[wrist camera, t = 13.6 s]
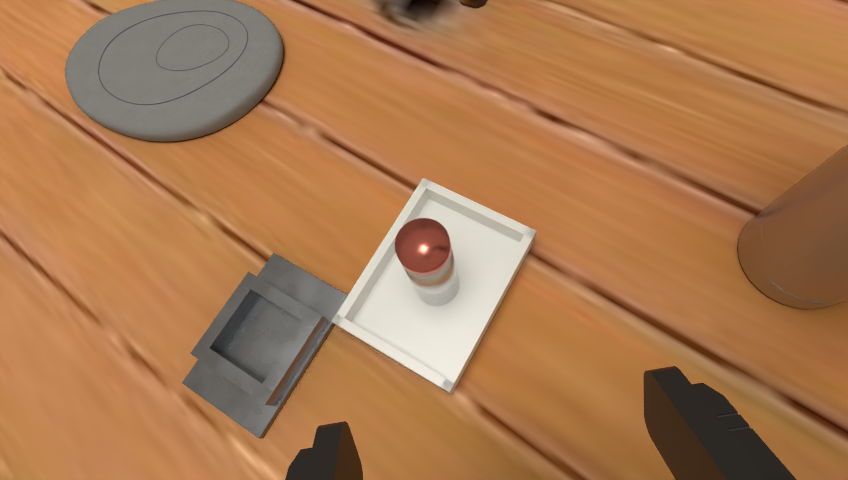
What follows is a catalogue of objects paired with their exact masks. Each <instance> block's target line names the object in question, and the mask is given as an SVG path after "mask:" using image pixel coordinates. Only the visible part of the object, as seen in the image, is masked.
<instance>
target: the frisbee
mask: <svg viewBox="0 0 848 480" xmlns="http://www.w3.org/2000/svg"><path fill="white" fill-rule="evenodd" d="M282 60H283V43H282V39H281V36H280V34H279V32H278V30H277V28H276V27H275V25H274V24H273V23H272V21H271V20H270V19H269V18H268V17H267V16H266V15H264V14H263V13H261V12H260V11H259V10H257V9H255V8H253V7H251V6H248V5H246V4H243V3H241V2H237V1H234V0H159V1H154V2H149V3H145V4H141V5H138V6H134V7H131V8H128V9H124V10H122V11H119V12H117V13H114V14H112V15H110V16H108V17H106V18H104V19H102V20H100V21H99V22H97V23H96V24H95V25H93V26H92V27H91V28H90V29H89V30H88V31H87V32H86V33H85V34H84V35H83V36H82V37H81V38H80V39H79V40H78V41H77V43H76V44H75V45H74V47H73V48H72V50H71V52H70V54H69V56H68V59H67V61H66V67H65V77H66V82H67V86H68V88H69V91H70V94H71V96H72V98H73V100H74V101H75V103H76V104H77V106H78V107H79V108H80V109H81V110H82V111H83V112H84V113H85V114H86V115H88V116H89V117H90V118H91V119H93V120H94V121H96V122H97V123H99V124H100V125H102V126H104V127H106V128H108V129H110V130H112V131H115V132H117V133H120V134H123V135H126V136H129V137H133V138H137V139H142V140H148V141H159V142H170V141H182V140H188V139H193V138H197V137H201V136H204V135H208V134H211V133H213V132H216V131H218V130H220V129H222V128H224V127H226V126H228V125H230V124H232V123H233V122H235V121H237V120H239V119H240V118H241V117H243V116H244V115H245V114H247V113H248V112H249V111H250V110H251V109H252V108H253V107H255V106H256V105H257V104H258V103H259V102H260V101H261V99H262V98H263V97H264V96H265V95H266V94H267V92H268V91H269V89H270V88H271V86H272V85H273V83H274V81H275V80H276V77H277V75H278V73H279V70H280V68H281V64H282Z"/></svg>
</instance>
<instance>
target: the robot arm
mask: <svg viewBox="0 0 848 480" xmlns="http://www.w3.org/2000/svg"><path fill="white" fill-rule="evenodd" d="M738 255H739V260H740V263H741V266H742V268H743V270H744V272H745V273H746V275H747V277H748V278H749V280H750V281H751V282H752V283H753V284H754V285H755V286H756V287H757V288H758V289H759V290H760V291H761V292H763V293H764V294H765V295H766V296H768V297H770V298H772V299H773V300H775V301H777V302H779V303H782V304H785V305H787V306H790V307H795V308H801V309H819V308H823V307H827V306H831V305H834V304H836V303H839V302H842V301H845V300H848V145H847V146H845V147H843V148H842V149H840V150H839V151H838V152H837V153H835V154H834V155H833V156H831V157H830V158H829V159H828V160H826V161H825V162H824V163H822V164H821V165H820V166H819V167H817V168H816V169H815V170H813V171H812V172H811V173H810V174H808V175H807V176H806V177H804V178H803V179H802V180H801V181H799V182H798V183H797V184H795V185H794V186H793V187H792V188H790V189H789V190H788V191H786V192H785V193H784V194H783V195H781V196H780V197H779V198H777V199H776V200H775V201H774V202H773V203H771V204H770V205H769V206H768V207H766V208H765V209H764V210H763V211H761V212H760V213H759V214H758V215H756V216H755V217H754V218H752V219H751V220H750V221H749V222H748V223H747V224H746V225H745V227H744V228H743V229H742V232H741V234H740V237H739V241H738ZM644 417H645V423H646V426H647V429H648V432H649V435H650V437H651V439H652V441H653V442H654V444H655V446H656V447H657V449H658V451H659V452H660V454H661V456H662V457H663V459H664V461H665V462H666V464H667V466H668V467H669V469H670V471H671V472H672V474H673V476H674V477H675V479H676V480H796V479H795V477H794V476H793V475H792V474H791V473H790V472H789V471H788V469H787V468H786V467H785V466H784V465H783V464H782V463H781V461H780V460H779V459H778V458H777V457H776V456H775V454H774V453H773V452H772V451H771V450H770V449H769V448H768V446H767V445H766V444H765V443H764V442H763V441H762V439H761V438H760V437H759V436H758V435H757V434H756V433H755V431H754V430H753V429H750V427H749V425H748V423H747V422H746V421H745V420H744V419H743V418H742V416H741V415H738V413H737V411H736V410H735V408H734V407H733V406H732V405H731V404H730V403H729V402H728V400H727V399H726V398H725V397H724V396H723V395H722V394H720V393H719V392H717V391H715V390H714V389H712V388H710V387H709V386H707V385H706V384H704V383H698V384H691V383H690V382H689V381H688V379H687V378H686V377H685V376H684V374H683V373H682V372H681V371H680V370H679V369H678V368H677V367H675V366H672V367H666V368H660V369H654V370H649V371H645V373H644ZM285 480H363V472H362V465H361V461H360V458H359V455H358V452H357V449H356V446H355V443H354V440H353V437H352V434H351V431H350V428H349V425H348V423H347V422H339V423H333V424H327V425H321V426H319V427H318V428H317V431H316V435H315V439H314V443H313V448H307V449H301V450H300V452H299V453H298V454H297V456H296V457H295V459H294V460H293V462H292V463H291V465H290V466H289V468H288V472H287V476H286V479H285Z"/></svg>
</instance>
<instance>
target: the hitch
mask: <svg viewBox="0 0 848 480" xmlns="http://www.w3.org/2000/svg"><path fill="white" fill-rule="evenodd" d="M347 296H348V295H346V294H344V293H342V292H341V291H339V290H337V289H336V288H334V287H332V286H330V285H329V284H327V283H325V282H323V281H322V280H320V279H318V278H316V277H315V276H313V275H311V274H309V273H308V272H306V271H304V270H303V269H301V268H299V267H297V266H296V265H294V264H292V263H290V262H289V261H287V260H285V259H283V258H282V257H280V256H278V255H276V254H275V253H273V254H272V256H271V257H270V259H269V260H268V262H267V263H266V264H265V266H264V267H263V269H262V270H261V272H260V273H259V274H258V276H257V277H256V276H255V275H253V274H251V273H250V272H248V273H247V275H246V276H245V277H244V279H243V280H242V282H241V283H240V284H239V286H238V287H237V289H236V290H235V291H234V293H233V294H232V296H231V297H230V298H229V300H228V301H227V303H226V304H225V305H224V307H223V308H222V310H221V311H220V312H219V314H218V315H217V317H216V318H215V319H214V321H213V322H212V324H211V325H210V327H209V328H208V329H207V331H206V332H205V334H204V335H203V336H202V338H201V339H200V341H199V342H198V343H197V345H196V346H195V348H194V349H193V350H192V352H191V354H192V355H193V356H195V357H196V358H198V359H199V360H198V361H197V362H196V364H195V365H194V367H193V368H192V370H191V371H190V372H189V374H188V375H187V377H186V378H185V379H184V381H183V382H182V383H183V384H184V385H186V386H187V387H188V388H190V389H191V390H193V391H194V392H195V393H197V394H198V395H199V396H201V397H202V398H204V399H205V400H206V401H208V402H209V403H211V404H212V405H213V406H215V407H216V408H217V409H219V410H220V411H222V412H223V413H224V414H226V415H227V416H229V417H230V418H231V419H233V420H234V421H236V422H237V423H238V424H240V425H241V426H242V427H244V428H245V429H247V430H248V431H249V432H251V433H252V434H254V435H255V436H256V437H258V438H263V437H264V435H265V434H266V432H267V431H268V429H269V428H270V426H271V424H272V423H273V421H274V420H275V418H276V417H277V415H278V413H279V412H280V410H281V409H282V407H283V406H284V404H285V402H286V401H287V399H288V398H289V396H290V394H291V393H292V391H293V390H294V388H295V387H296V385H297V383H298V382H299V380H300V379H301V377H302V376H303V374H304V372H305V371H306V369H307V368H308V366H309V365H310V363H311V361H312V360H313V358H314V357H315V355H316V353H317V352H318V350H319V349H320V347H321V346H322V344H323V342H324V341H325V339H326V338H327V336H328V335H329V333H330V331H331V330H332V328H333V327H334V325H335V324H334V323H333V322H332V320H333V318H334V317H335V315H336V314H337V312H338V311H339V309H340V307H341V306H342V304H343V303H344V301H345V300H346V298H347Z"/></svg>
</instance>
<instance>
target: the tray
mask: <svg viewBox="0 0 848 480" xmlns="http://www.w3.org/2000/svg"><path fill="white" fill-rule="evenodd" d="M418 218H429V219H433V220H436V221H437V222H439V223H440V224H442V225H443V226H444V227H445V229H446V230H447V232H448V235H449V238H450V242H451V247H452V251H453V255H454V260H455V264H456V268H457V273H458V277H459V282H460V285H459V290H458V293H457V295H456V296H455V298H454V299H453V300H451V301H450V302H449V303H447V304H444V305H440V306H434V305H430V304H427V303H425V302H424V301H423V300H422V299H421V298H420V297H419V295H418V294H417V292H416V290H415V288H414V286H413V284H412V283H411V281H410V279H409V277H408V275H407V273H406V272H405V270H404V268H403V266H402V264H401V262H400V261H399V259H398V257H397V255H396V252H395V239H396V236H397V234H398V232H399V230H400V229H401V228H402V227H403V226H404V225H405V224H406V223H408V222H410V221H412V220H414V219H418ZM535 235H536V230H533V229H531V228H529V227H527V226H525V225H523V224H521V223H519V222H516V221H514V220H512V219H510V218H508V217H506V216H504V215H501V214H499V213H497V212H495V211H493V210H491V209H489V208H487V207H484V206H482V205H480V204H478V203H476V202H474V201H472V200H469V199H467V198H465V197H463V196H461V195H459V194H457V193H455V192H452V191H450V190H448V189H446V188H444V187H442V186H440V185H437V184H435V183H433V182H431V181H429V180H427V179H425V178H423V179H422V180H421V182H420V184H419V185H418V187H417V188H416V190H415V191H414V193H413V195H412V196H411V198H410V199H409V201H408V202H407V204H406V206H405V207H404V209H403V210H402V212H401V213H400V215H399V216H398V218H397V220H396V221H395V223H394V224H393V226H392V227H391V229H390V231H389V232H388V234H387V235H386V237H385V238H384V240H383V242H382V243H381V245H380V246H379V248H378V249H377V251H376V253H375V254H374V256H373V257H372V259H371V260H370V262H369V264H368V265H367V267H366V268H365V270H364V271H363V273H362V275H361V276H360V278H359V279H358V281H357V282H356V284H355V285H354V287H353V289H352V290H351V292H350V293H349V295H348V296H347V298H346V300H345V301H344V303H343V304H342V306H341V307H340V309H339V311H338V312H337V314H336V315H335V317H334V318H333V320H332V322H333V323H334V324H336V325H337V326H338V327H340V328H341V329H343V330H345V331H346V332H348V333H350V334H351V335H353V336H355V337H356V338H358V339H360V340H361V341H363V342H365V343H366V344H368V345H370V346H371V347H373V348H375V349H376V350H378V351H380V352H381V353H383V354H385V355H386V356H388V357H390V358H391V359H393V360H395V361H396V362H398V363H400V364H401V365H403V366H404V367H406V368H408V369H409V370H411V371H413V372H414V373H416V374H418V375H419V376H421V377H423V378H424V379H426V380H428V381H429V382H431V383H433V384H434V385H436V386H438V387H439V388H441V389H443V390H444V391H446V392H448V393H449V394H451V395H452V393H453V391H454V390H455V388H456V386H457V384H458V382H459V380H460V378H461V376H462V375H463V373H464V371H465V369H466V367H467V365H468V363H469V362H470V360H471V358H472V356H473V354H474V352H475V350H476V349H477V347H478V345H479V343H480V341H481V339H482V337H483V336H484V334H485V332H486V330H487V328H488V326H489V324H490V323H491V321H492V319H493V317H494V315H495V313H496V311H497V310H498V308H499V306H500V304H501V302H502V300H503V298H504V297H505V295H506V293H507V291H508V289H509V287H510V285H511V284H512V282H513V280H514V278H515V276H516V274H517V272H518V271H519V269H520V267H521V265H522V263H523V261H524V259H525V258H526V256H527V254H528V252H529V250H530V248H531V246H532V244H533V242H534V239H535Z"/></svg>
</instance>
